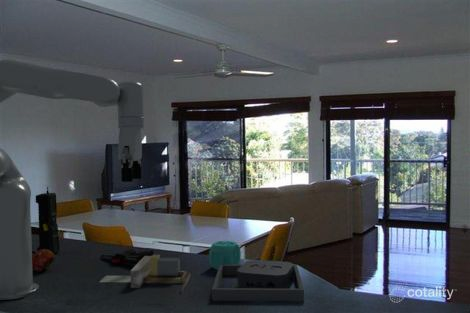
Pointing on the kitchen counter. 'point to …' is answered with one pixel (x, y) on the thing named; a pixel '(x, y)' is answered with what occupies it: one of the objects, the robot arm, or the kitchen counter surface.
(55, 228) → the portable radio
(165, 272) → the latch bar
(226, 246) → the decorative dice
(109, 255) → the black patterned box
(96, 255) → the kitchen counter surface
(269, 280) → the streaming box
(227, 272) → the dark rectangular frame
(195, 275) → the kitchen counter surface
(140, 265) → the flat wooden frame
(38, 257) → the pomegranate
